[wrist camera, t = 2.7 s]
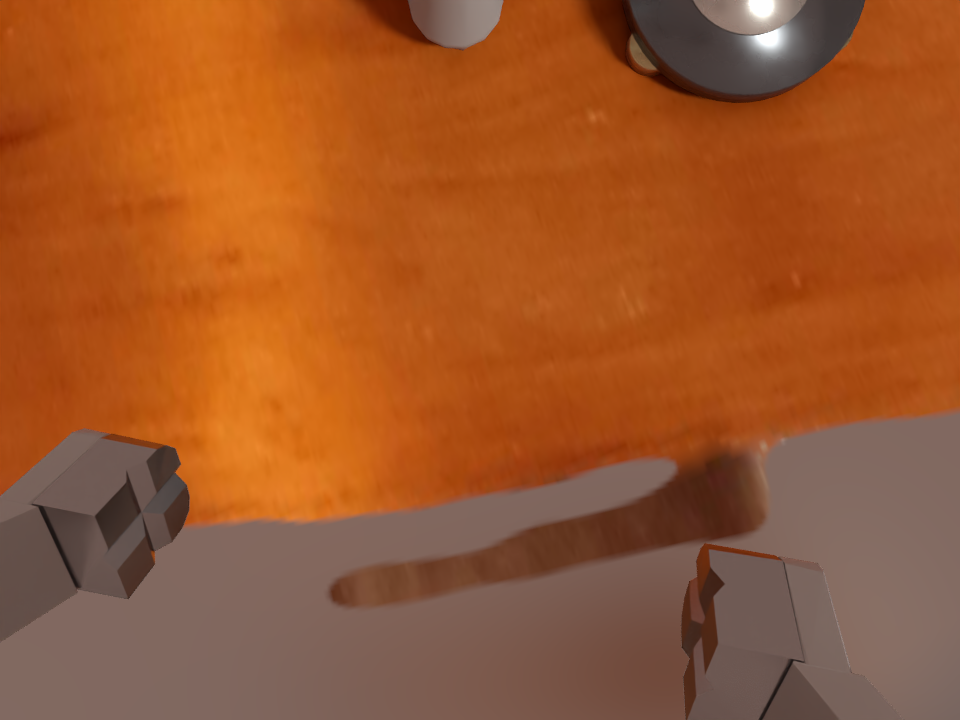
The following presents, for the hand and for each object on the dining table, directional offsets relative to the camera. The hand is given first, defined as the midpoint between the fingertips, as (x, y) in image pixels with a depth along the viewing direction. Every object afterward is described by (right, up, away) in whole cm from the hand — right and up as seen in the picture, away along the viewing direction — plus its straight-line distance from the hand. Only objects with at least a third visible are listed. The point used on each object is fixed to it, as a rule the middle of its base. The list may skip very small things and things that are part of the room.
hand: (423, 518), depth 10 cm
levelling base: (+17, +26, +33) cm, 46 cm away
